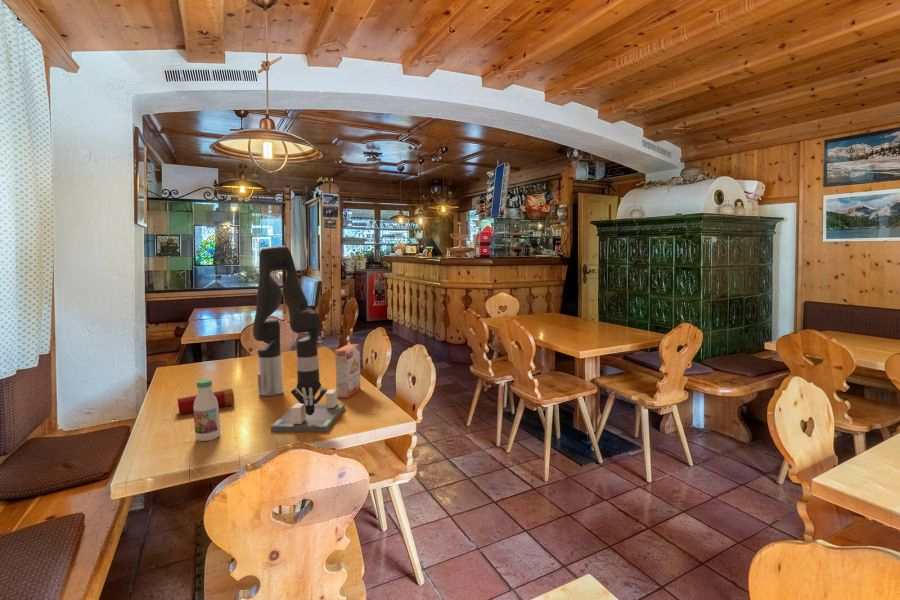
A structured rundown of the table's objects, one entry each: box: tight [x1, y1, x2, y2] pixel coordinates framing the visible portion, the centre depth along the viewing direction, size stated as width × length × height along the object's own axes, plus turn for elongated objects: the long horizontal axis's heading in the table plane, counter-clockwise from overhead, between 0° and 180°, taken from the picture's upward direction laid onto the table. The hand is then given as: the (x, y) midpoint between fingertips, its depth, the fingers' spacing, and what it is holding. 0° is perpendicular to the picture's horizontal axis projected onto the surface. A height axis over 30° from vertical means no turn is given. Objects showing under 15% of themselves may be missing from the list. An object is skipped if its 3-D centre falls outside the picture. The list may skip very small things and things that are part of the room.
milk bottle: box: [193, 379, 221, 442], centre depth 163 cm, size 8×8×20 cm
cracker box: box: [334, 343, 361, 399], centre depth 209 cm, size 14×6×21 cm, turn 168°
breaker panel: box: [270, 402, 346, 433], centre depth 180 cm, size 20×24×2 cm
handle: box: [325, 388, 338, 408], centre depth 187 cm, size 3×5×6 cm, turn 177°
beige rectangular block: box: [291, 402, 306, 424], centre depth 171 cm, size 3×5×6 cm, turn 177°
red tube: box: [177, 387, 235, 415], centre depth 192 cm, size 7×20×7 cm, turn 123°
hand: (310, 414), depth 171 cm, fingers closed
